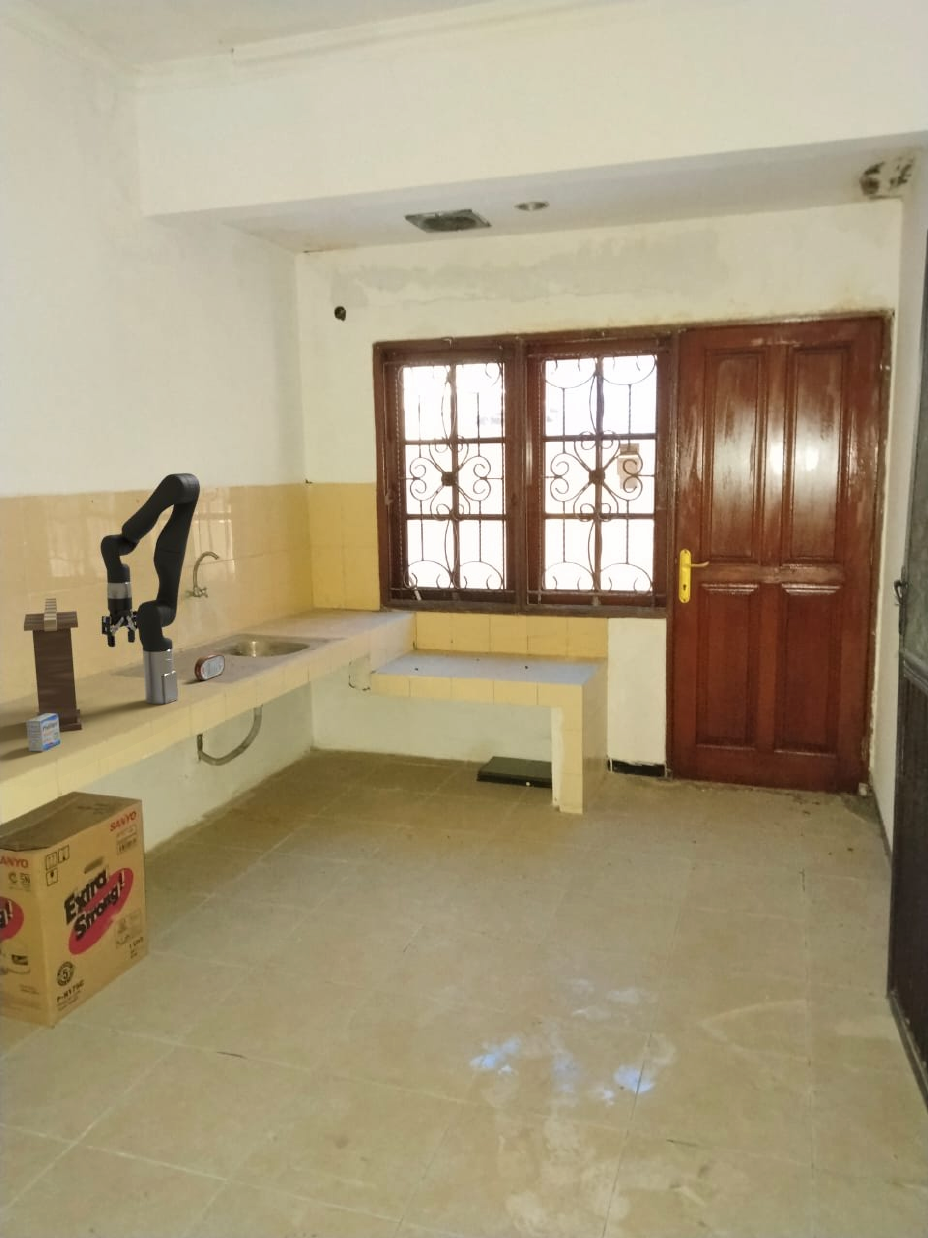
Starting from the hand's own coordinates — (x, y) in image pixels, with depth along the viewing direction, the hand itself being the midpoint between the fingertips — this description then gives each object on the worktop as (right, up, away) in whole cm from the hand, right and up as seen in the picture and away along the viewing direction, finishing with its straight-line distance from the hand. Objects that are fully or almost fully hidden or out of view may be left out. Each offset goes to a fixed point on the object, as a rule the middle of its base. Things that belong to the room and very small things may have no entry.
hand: (121, 644), depth 297 cm
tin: (+21, -13, +30) cm, 39 cm away
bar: (-8, +8, -33) cm, 35 cm away
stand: (-9, -23, -26) cm, 36 cm away
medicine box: (-3, -27, -48) cm, 55 cm away
